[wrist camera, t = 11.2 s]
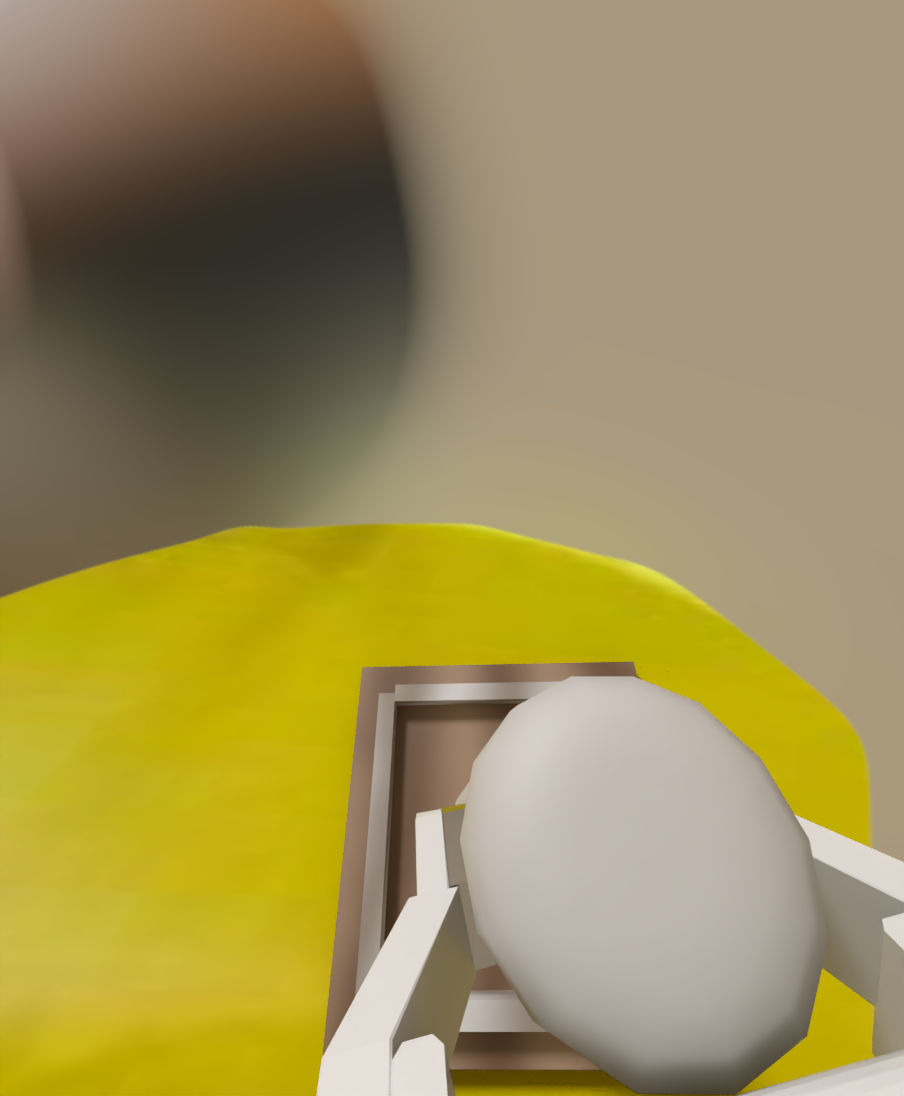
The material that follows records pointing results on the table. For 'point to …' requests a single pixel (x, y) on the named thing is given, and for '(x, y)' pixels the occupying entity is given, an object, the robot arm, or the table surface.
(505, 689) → the socket plate
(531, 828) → the salt shaker
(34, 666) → the table surface
